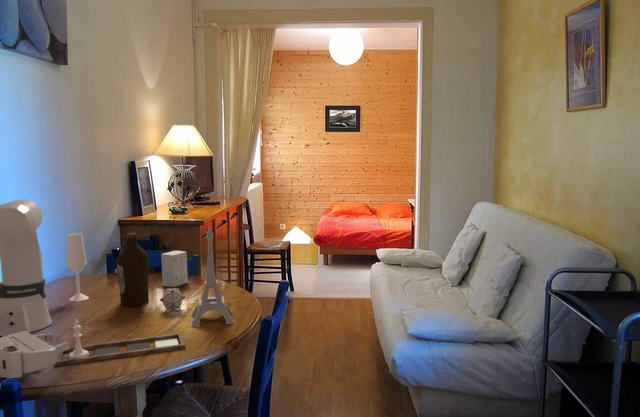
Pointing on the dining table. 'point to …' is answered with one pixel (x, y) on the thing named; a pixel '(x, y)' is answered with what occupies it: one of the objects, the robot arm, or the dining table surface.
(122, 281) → the olive oil
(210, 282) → the eiffel tower
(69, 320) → the dining table surface
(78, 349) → the chess piece
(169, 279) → the small box
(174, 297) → the game die
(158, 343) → the pad
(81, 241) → the champagne flute
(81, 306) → the dining table surface
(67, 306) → the dining table surface
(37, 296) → the robot arm
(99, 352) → the tiles
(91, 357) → the tray
